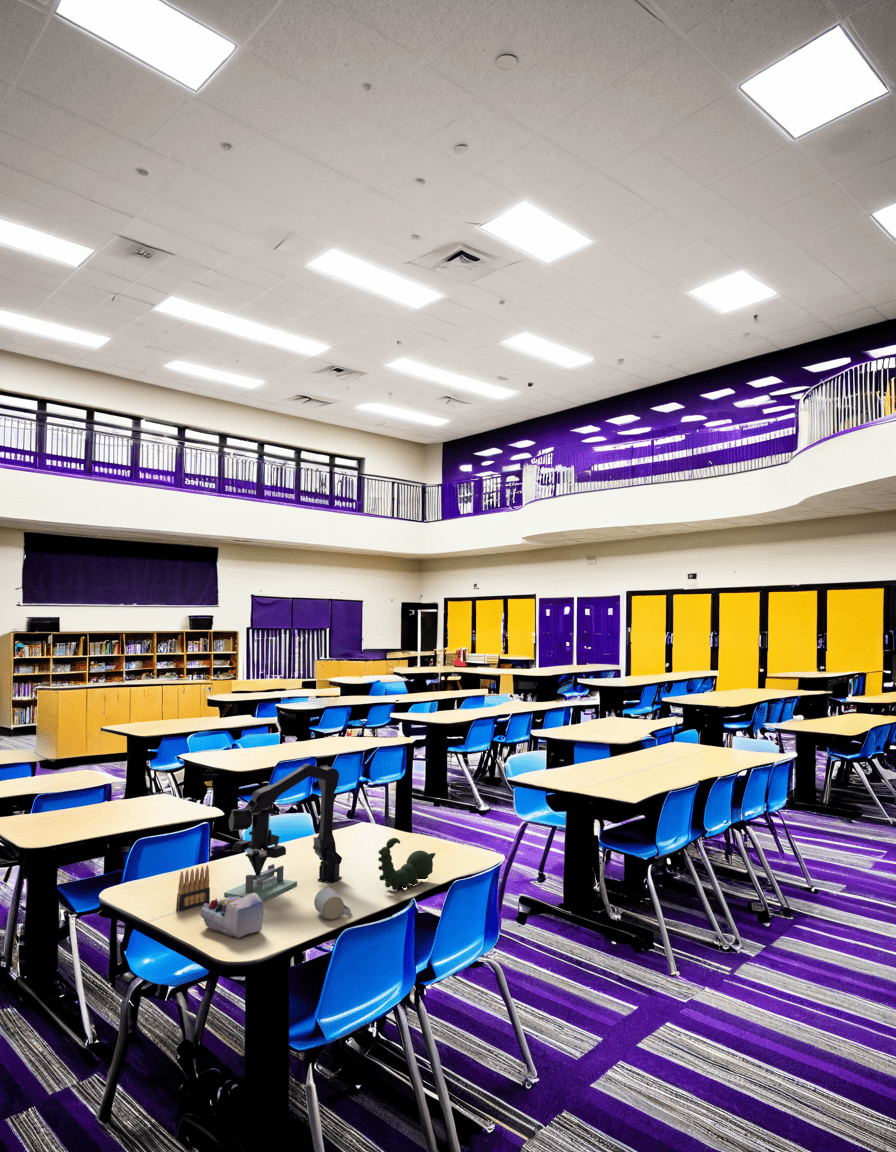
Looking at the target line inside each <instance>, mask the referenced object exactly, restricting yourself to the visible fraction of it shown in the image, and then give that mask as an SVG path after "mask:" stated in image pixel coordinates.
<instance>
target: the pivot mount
mask: <svg viewBox="0 0 896 1152" xmlns="http://www.w3.org/2000/svg"><path fill="white" fill-rule="evenodd" d="M271 868H275V864H274V863H272V864H270V865H267V870H269V869H271ZM276 868H277V872H276V876H277V882H278V883H279V882H281V881H283V879H284V865H279V866H277V867H276ZM270 875H272V876H275V873H272V874H270Z"/></svg>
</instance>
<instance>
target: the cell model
mask: <svg viewBox="0 0 896 1152" xmlns="http://www.w3.org/2000/svg"><path fill="white" fill-rule="evenodd" d="M264 916H265V906H264V901H263V902H262V900H261V899H260V898H259V896H258V894H256V893H251V894H249V895H247V896H245V897H243V898H240V897H238V896H236V897H230V896H229V897H226V898H223V899H219V900H218V899H217V898H214V899H212V900H210V903H209V904H206V903H204V905H203V906H202V908H201V909H200V917H201V918H202V919H203V922H204V924H205V926H206V927H207V928H209V929H210V930H212V931H214V932H218V933H223V934H224V935H226V936H229V937H235V938H236V939H240V938H242V937H244V936H246V935H250V934H255V933H258V932H261V930H263V929H262V928H263V923H264Z"/></svg>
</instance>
